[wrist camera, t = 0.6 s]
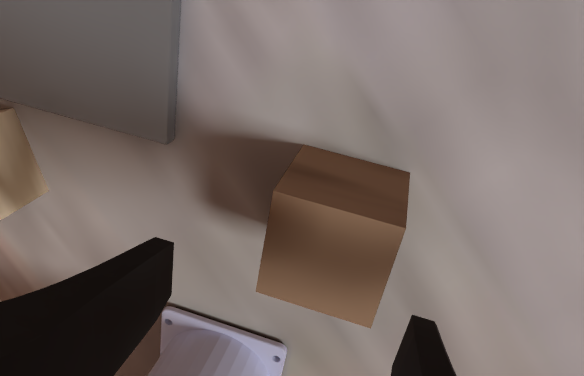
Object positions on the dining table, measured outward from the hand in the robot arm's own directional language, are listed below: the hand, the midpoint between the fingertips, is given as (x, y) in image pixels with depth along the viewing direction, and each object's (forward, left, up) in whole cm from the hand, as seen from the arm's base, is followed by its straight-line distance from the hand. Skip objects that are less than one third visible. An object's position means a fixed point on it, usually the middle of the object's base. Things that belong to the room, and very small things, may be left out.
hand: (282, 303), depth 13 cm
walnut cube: (-2, -1, -10) cm, 10 cm away
